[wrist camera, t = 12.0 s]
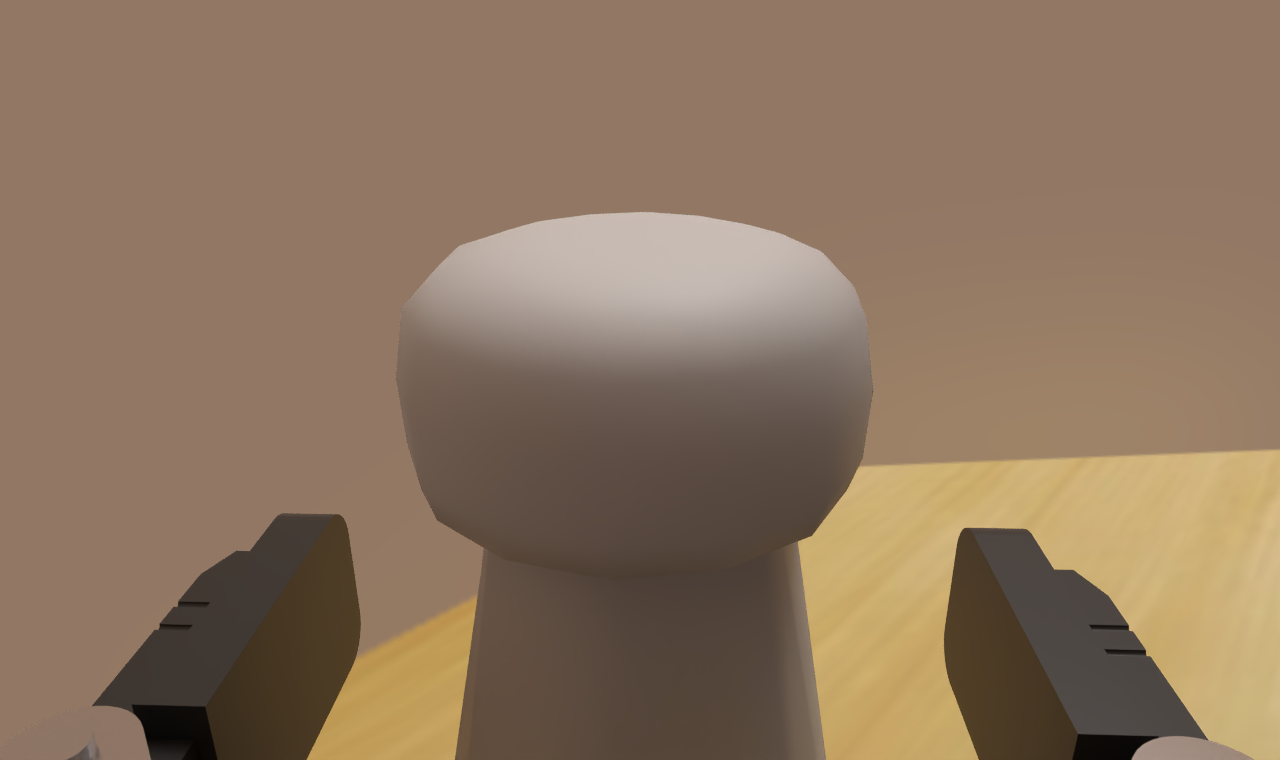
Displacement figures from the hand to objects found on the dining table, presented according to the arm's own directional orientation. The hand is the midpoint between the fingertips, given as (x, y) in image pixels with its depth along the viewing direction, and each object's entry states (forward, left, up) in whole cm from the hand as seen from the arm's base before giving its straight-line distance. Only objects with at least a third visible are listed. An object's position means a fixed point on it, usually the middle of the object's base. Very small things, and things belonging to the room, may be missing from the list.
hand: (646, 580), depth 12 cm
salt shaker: (+1, +2, -8) cm, 8 cm away
